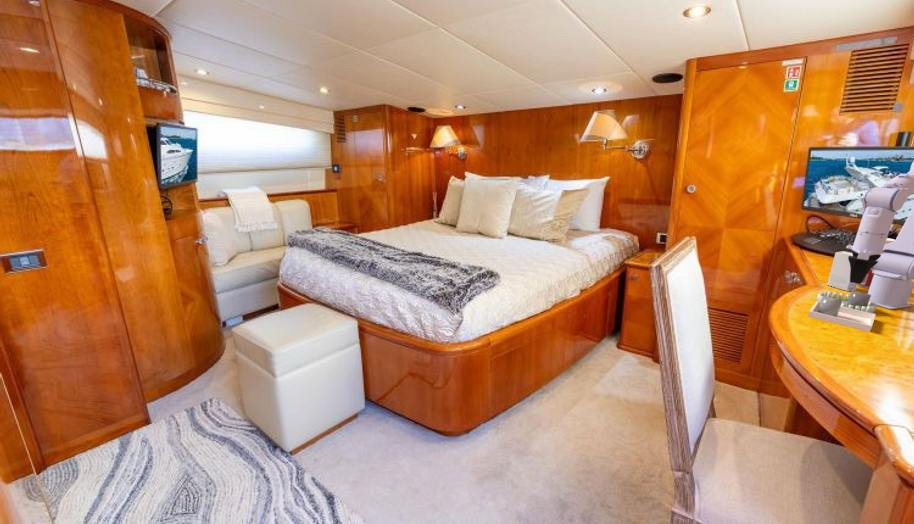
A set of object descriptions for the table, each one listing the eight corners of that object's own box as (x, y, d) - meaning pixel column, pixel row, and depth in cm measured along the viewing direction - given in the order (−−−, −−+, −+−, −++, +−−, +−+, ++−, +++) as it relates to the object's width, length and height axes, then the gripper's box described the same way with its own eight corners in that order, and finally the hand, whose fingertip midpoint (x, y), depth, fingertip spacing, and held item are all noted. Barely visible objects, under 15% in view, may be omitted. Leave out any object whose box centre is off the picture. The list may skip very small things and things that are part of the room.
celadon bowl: (819, 296, 122) (821, 288, 122) (875, 308, 113) (878, 300, 113) (812, 306, 115) (814, 297, 114) (872, 319, 106) (875, 311, 105)
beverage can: (886, 291, 128) (898, 256, 124) (863, 289, 129) (875, 255, 125) (870, 284, 134) (882, 251, 130) (849, 283, 135) (860, 250, 131)
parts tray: (814, 307, 113) (816, 300, 113) (873, 321, 105) (875, 314, 104) (807, 318, 106) (809, 311, 106) (869, 334, 98) (872, 326, 97)
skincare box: (855, 290, 128) (867, 255, 125) (846, 291, 127) (858, 256, 123) (834, 284, 134) (844, 250, 130) (825, 285, 132) (835, 251, 129)
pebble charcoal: (852, 304, 115) (857, 290, 113) (869, 309, 111) (874, 295, 110) (843, 306, 113) (847, 291, 112) (860, 311, 110) (865, 296, 108)
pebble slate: (823, 311, 110) (828, 296, 108) (840, 316, 106) (845, 301, 105) (813, 312, 109) (818, 297, 107) (830, 318, 105) (835, 303, 104)
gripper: (855, 227, 111) (840, 271, 115) (848, 233, 102) (833, 281, 106) (890, 231, 106) (874, 277, 110) (887, 238, 97) (870, 288, 101)
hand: (856, 280), depth 108 cm, fingers open, 7 cm apart
